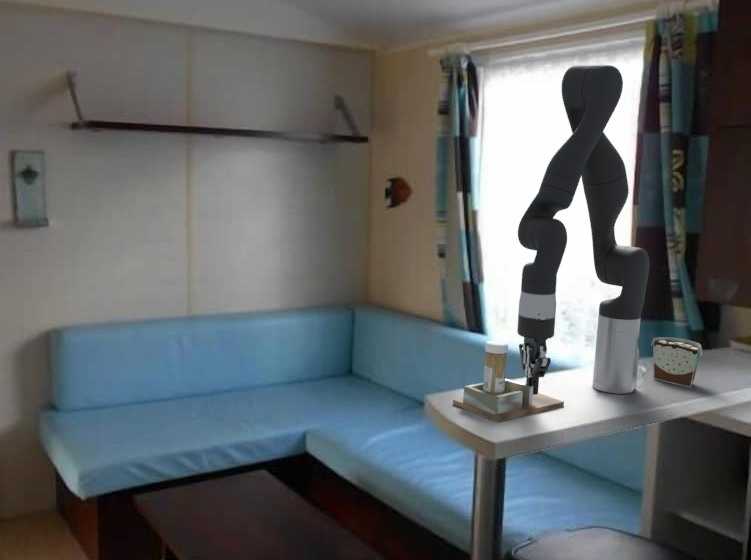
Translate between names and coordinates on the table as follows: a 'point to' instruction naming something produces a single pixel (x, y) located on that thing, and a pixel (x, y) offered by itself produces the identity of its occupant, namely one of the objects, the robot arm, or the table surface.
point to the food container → (675, 360)
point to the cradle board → (503, 403)
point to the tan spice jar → (495, 367)
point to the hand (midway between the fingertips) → (531, 393)
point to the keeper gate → (517, 386)
